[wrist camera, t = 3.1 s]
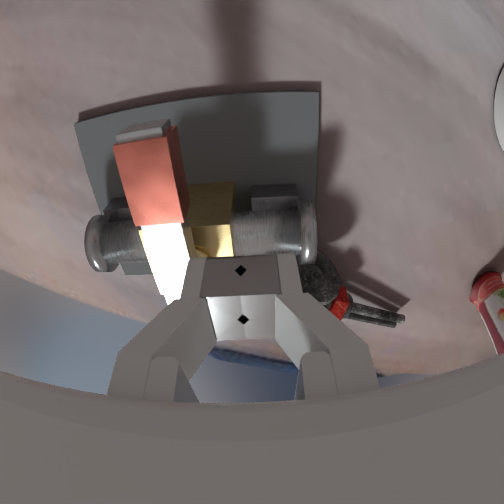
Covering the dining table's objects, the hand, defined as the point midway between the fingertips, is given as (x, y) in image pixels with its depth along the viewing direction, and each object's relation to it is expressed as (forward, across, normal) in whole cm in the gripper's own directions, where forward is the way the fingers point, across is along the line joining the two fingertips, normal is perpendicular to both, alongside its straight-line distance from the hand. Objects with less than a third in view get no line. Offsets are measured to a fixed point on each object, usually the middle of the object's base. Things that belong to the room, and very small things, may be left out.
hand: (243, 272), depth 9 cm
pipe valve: (+19, +5, +9) cm, 22 cm away
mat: (+19, +5, +7) cm, 21 cm away
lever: (+11, +5, +4) cm, 12 cm away
